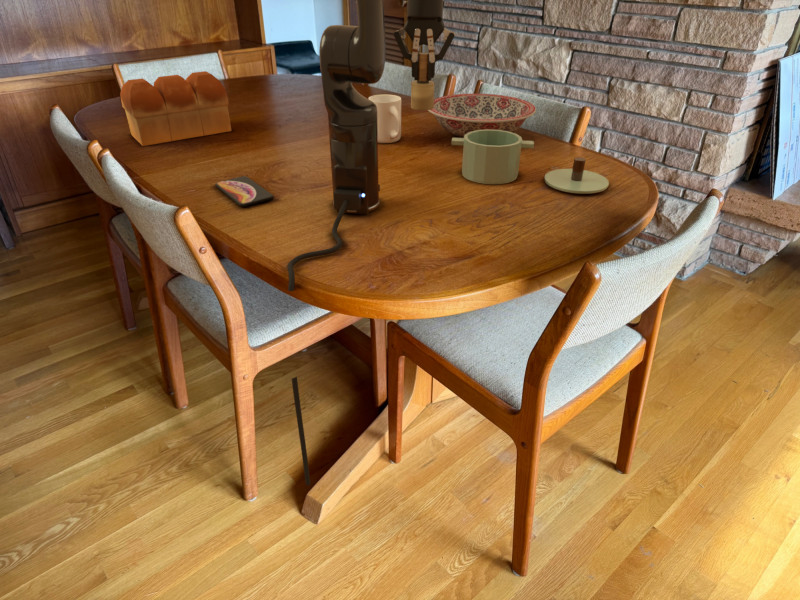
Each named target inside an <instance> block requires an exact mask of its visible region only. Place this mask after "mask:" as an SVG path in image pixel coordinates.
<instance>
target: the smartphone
mask: <svg viewBox="0 0 800 600" xmlns="http://www.w3.org/2000/svg"><path fill="white" fill-rule="evenodd" d="M215 187H216V188H217V189H218V190H220V191H221V192H222V193H223V194H225V195H226V196H227V197H228V198H230V200H232V201H233V202H234V203H236V204H237V205H238V206H239V207H241V208H242V207H243V208H244V207H245V208H247V207H249V206H253V205H256V204H260V203H263V202H269V201H271V200H273V199H274V194H272V193H270V192H269V191H268V190H267V189H265V188H263V187H262V186H261V185H259V184H258V183H257V182H255V181H254V180H252V179H251V178H249V177H248V176H246V175H242V176H237V177H233V178H230V179H225V180H221V181H218V182H216V183H215Z"/></svg>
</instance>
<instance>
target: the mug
mask: <svg viewBox="0 0 800 600" xmlns="http://www.w3.org/2000/svg"><path fill="white" fill-rule="evenodd" d="M367 99H369V100H371V101H372V102H374V103H375V104H376V107H377V124H378V144H392V143H396V142H398V141H400V139H401V137H402V97H401V96H399V95H397V94H396V95H395V94H374V95H371V96H368V97H367Z"/></svg>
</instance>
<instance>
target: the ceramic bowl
mask: <svg viewBox="0 0 800 600" xmlns="http://www.w3.org/2000/svg"><path fill="white" fill-rule="evenodd" d="M427 111H428V112H429V113H430V114H433V116H434V118H435V120H436V121H437V122H438V124H439V125H440V126H441V127H442V128H443V129H444V130H445V131H446V132H448V133H450V134H452V135H453V136H456V137H459V138H464V135H465V134H467V133H468V132H472V131H476V130H486V129H490V130H502V131H509V132H512V133H515V131H517V130H518V129H519V128H520V127H521V126H522V125H523V124H524V123H525V121H526V120H527V119H528V118H530V117H532V116H533V115H535V114H536V111H537V108H536V106H535V105H534V104H533V103H531V102H530V101H527V100H525V99H522V98H519V97H514V96H509V95H503V94H494V93H457V94H448V95H444V96H439V97H436V98H434V108H433V109H431V110H427Z"/></svg>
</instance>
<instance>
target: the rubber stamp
mask: <svg viewBox="0 0 800 600" xmlns="http://www.w3.org/2000/svg"><path fill="white" fill-rule="evenodd" d="M428 63H429V52H419V53H418V80H413V81H411V83H410V84H411V85H410V108H411V109H412V110H415V111H428V110H431V109H433V108H434V99H435V82H434V81H433V80H431V81H428Z"/></svg>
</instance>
